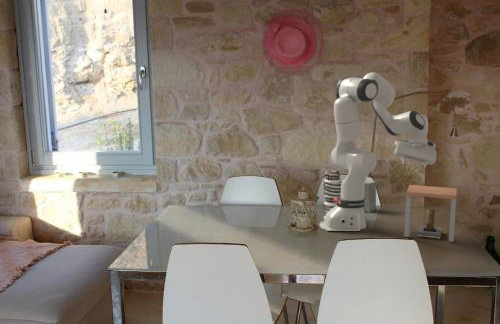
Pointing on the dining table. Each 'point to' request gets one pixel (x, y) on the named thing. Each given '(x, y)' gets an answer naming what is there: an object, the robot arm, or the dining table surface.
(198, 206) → the dining table surface
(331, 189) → the decorative candle
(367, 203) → the skincare box
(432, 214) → the peg
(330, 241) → the dining table surface
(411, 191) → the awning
